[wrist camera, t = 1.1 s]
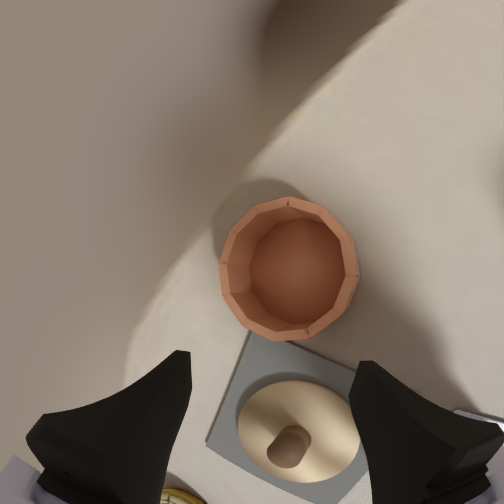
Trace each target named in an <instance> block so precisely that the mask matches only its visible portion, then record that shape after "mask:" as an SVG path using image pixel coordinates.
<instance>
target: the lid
mask: <svg viewBox="0 0 504 504" xmlns="http://www.w3.org/2000/svg"><path fill="white" fill-rule="evenodd" d="M238 434H239V438H240V441H241V444H242V446H243V448H244V450H245V452H246V453H247V454H248V456H249V457H250V458H251V459H252V461H253V462H254V463H255V464H257V465H258V466H259V467H260V468H261V469H263V470H264V471H266V472H268V473H269V474H271V475H273V476H275V477H278V478H281V479H284V480H287V481H292V482H299V483H310V482H318V481H322V480H326V479H329V478H331V477H333V476H335V475H337V474H339V473H340V472H342V471H343V470H344V469H345V468H347V466H348V465H349V464H350V463H351V462H352V460H353V459H354V457H355V455H356V453H357V451H358V447H359V443H360V437H359V434H358V431H357V428H356V425H355V422H354V419H353V416H352V413H351V408H350V404H349V403H348V402H347V401H346V400H345V399H344V398H343V397H342V396H340V395H339V394H338V393H336V392H335V391H333V390H331V389H329V388H327V387H325V386H323V385H320V384H318V383H314V382H310V381H304V380H285V381H279V382H275V383H272V384H270V385H267V386H265V387H263V388H262V389H260V390H259V391H257V392H256V393H255V394H254V395H252V396H251V397H250V398H249V399H248V400H247V402H246V403H245V404H244V406H243V408H242V409H241V412H240V415H239V419H238Z"/></svg>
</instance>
